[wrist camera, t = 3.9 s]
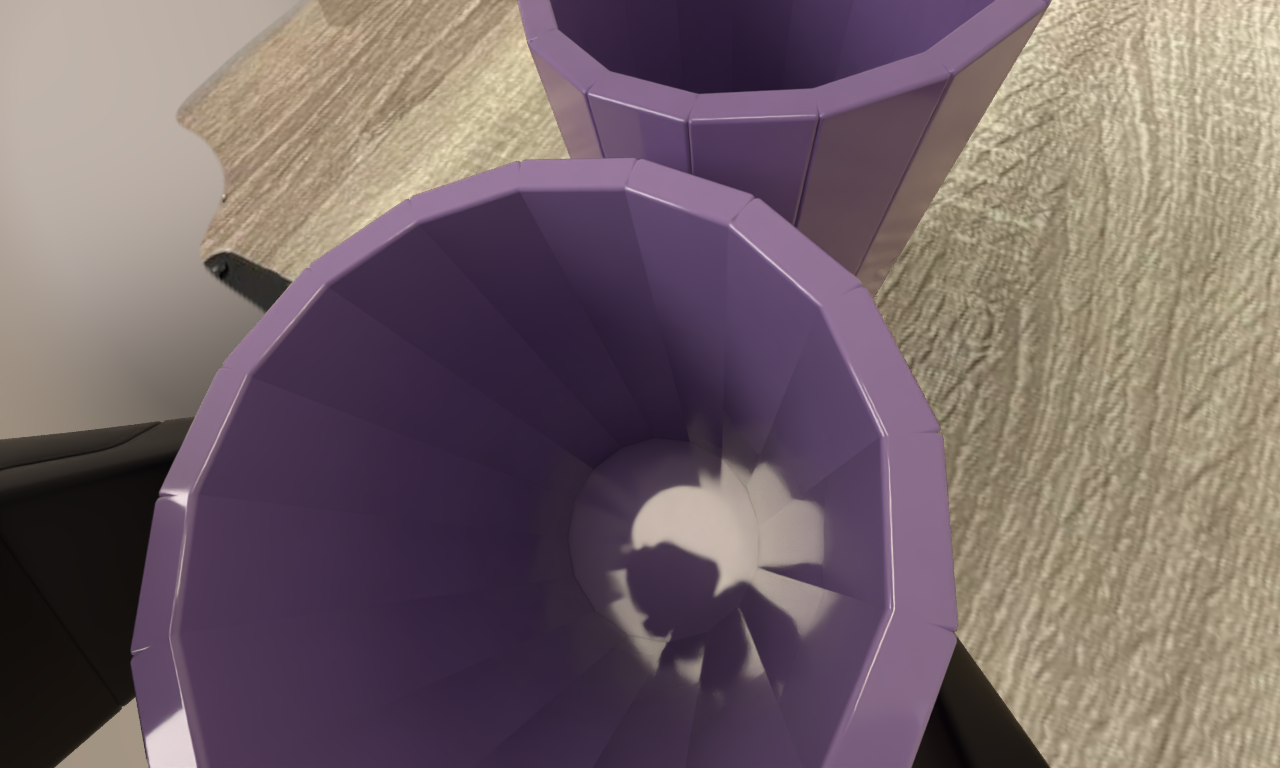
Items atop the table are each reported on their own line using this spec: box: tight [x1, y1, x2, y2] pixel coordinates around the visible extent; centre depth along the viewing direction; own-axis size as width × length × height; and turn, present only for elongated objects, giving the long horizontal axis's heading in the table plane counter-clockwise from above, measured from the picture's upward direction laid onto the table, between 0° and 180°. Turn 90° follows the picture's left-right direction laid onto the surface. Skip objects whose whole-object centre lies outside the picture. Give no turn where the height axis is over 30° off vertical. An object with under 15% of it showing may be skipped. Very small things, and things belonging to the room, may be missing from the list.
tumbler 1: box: [517, 0, 1052, 299], centre depth 11 cm, size 7×7×12 cm
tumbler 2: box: [130, 157, 958, 768], centre depth 9 cm, size 7×7×12 cm
